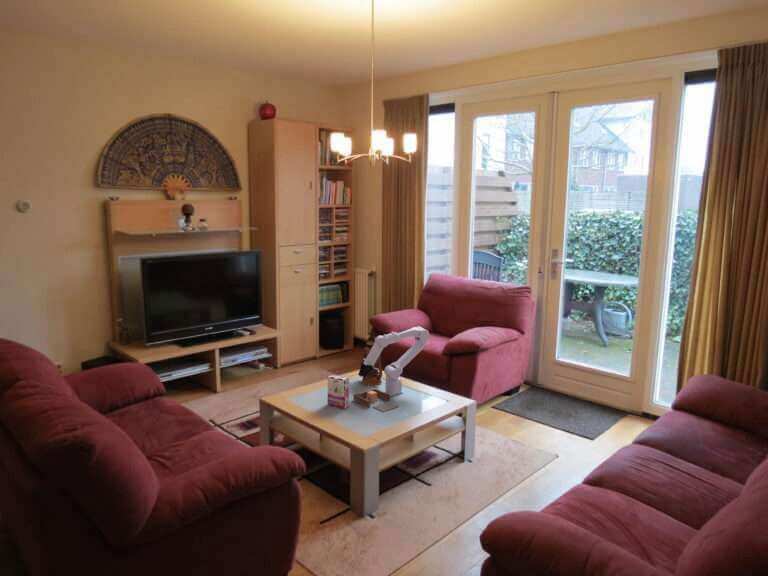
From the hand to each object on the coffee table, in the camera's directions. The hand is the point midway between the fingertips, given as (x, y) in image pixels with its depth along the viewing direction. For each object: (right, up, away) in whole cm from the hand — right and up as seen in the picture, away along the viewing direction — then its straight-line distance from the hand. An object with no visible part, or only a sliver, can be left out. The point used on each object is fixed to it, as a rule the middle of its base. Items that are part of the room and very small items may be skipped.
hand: (361, 376), depth 308 cm
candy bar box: (-12, -14, -12) cm, 22 cm away
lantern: (+5, -8, +26) cm, 28 cm away
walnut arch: (+6, -13, -4) cm, 15 cm away
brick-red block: (+6, -13, -4) cm, 15 cm away
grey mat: (+14, -15, -12) cm, 24 cm away
